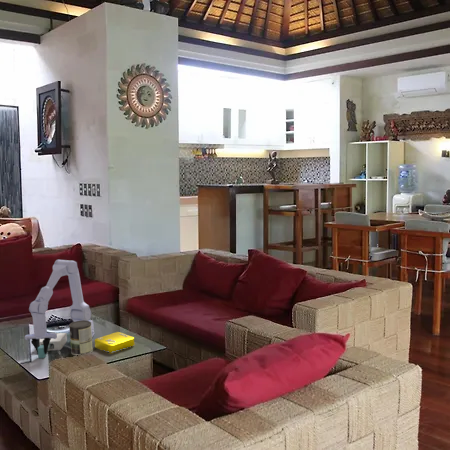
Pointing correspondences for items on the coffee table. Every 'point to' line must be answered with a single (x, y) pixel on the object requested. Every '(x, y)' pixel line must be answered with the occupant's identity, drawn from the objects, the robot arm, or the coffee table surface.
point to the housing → (57, 341)
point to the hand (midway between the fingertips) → (42, 353)
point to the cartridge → (42, 351)
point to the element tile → (114, 342)
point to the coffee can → (80, 337)
